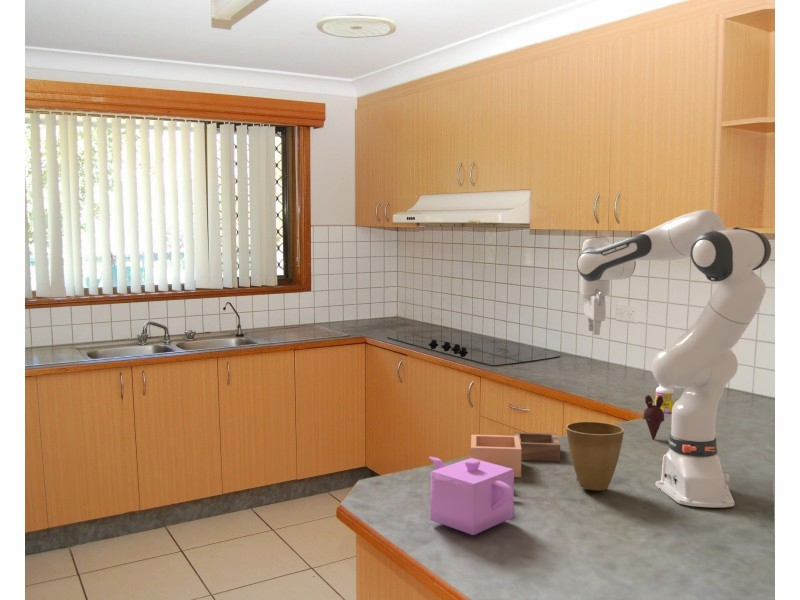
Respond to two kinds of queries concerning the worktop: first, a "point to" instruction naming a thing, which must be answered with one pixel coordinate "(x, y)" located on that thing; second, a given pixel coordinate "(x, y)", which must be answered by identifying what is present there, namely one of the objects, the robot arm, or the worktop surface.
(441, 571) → the worktop surface
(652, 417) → the icecream
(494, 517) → the teapot
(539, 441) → the block
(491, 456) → the stand
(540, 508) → the worktop surface
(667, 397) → the supplement bottle
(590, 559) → the worktop surface
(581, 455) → the plant pot
